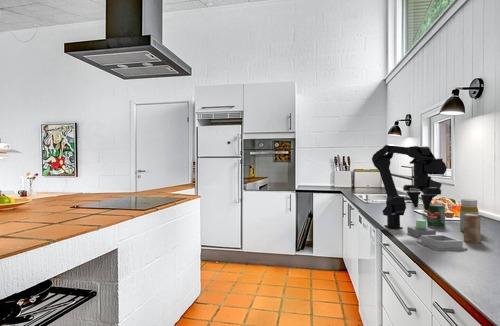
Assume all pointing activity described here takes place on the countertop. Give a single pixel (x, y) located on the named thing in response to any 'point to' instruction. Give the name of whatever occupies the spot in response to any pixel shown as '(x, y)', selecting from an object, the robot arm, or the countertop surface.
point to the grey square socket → (441, 242)
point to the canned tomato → (436, 216)
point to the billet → (471, 228)
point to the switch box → (420, 231)
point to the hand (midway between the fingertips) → (421, 208)
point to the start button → (421, 224)
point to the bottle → (467, 209)
